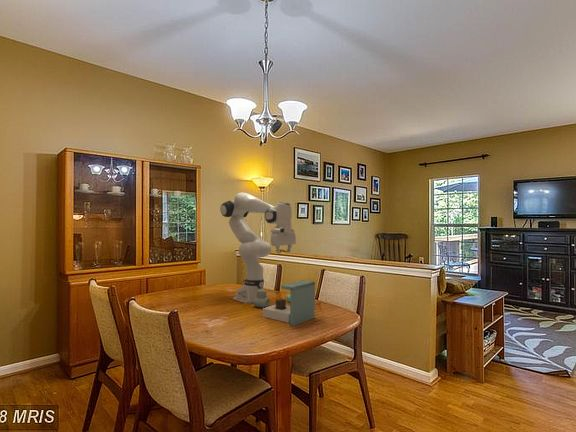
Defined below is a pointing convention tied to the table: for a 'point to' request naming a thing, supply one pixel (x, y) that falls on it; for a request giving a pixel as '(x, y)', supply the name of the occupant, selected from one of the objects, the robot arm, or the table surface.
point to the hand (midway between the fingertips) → (283, 252)
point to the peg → (280, 304)
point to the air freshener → (261, 299)
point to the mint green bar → (288, 297)
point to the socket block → (277, 313)
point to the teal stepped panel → (301, 301)
